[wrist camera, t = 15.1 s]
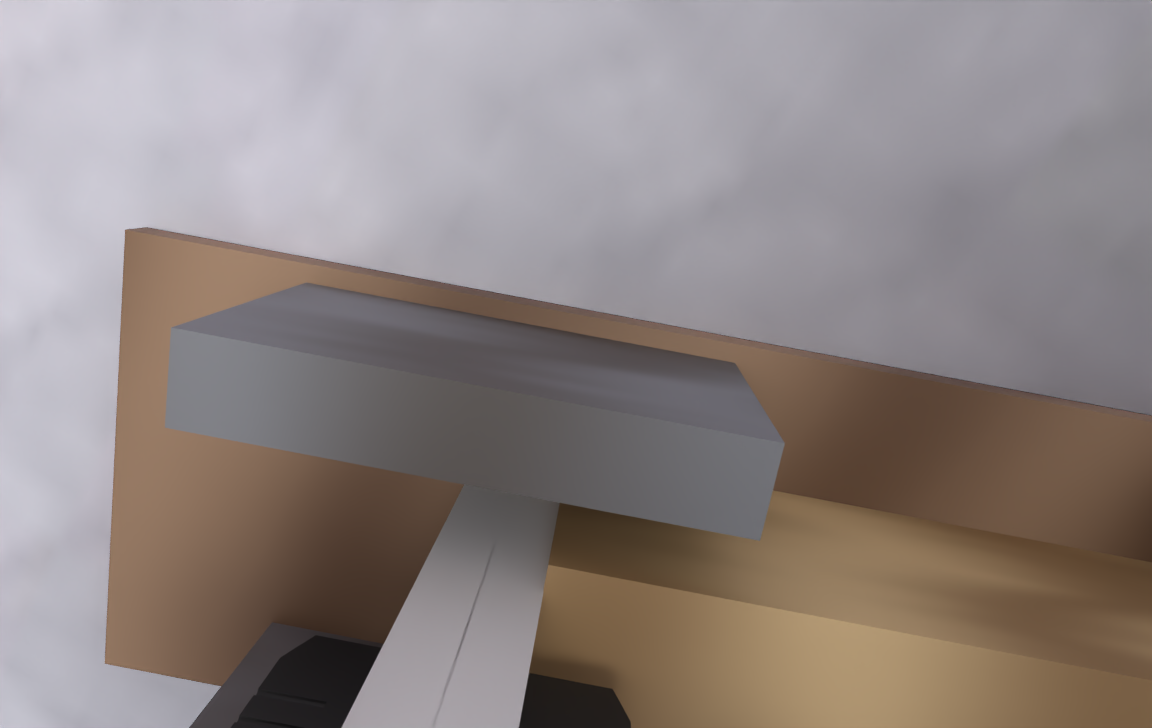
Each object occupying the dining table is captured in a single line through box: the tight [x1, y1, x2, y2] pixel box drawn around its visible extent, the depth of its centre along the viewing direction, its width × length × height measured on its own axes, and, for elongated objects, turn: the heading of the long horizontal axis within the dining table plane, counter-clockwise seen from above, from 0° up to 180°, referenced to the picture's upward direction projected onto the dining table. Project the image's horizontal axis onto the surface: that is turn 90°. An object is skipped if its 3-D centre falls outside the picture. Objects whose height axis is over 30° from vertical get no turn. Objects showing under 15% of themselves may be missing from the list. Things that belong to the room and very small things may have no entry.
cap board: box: [105, 228, 1152, 728], centre depth 11 cm, size 24×8×8 cm, turn 80°
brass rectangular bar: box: [529, 491, 1152, 728], centre depth 12 cm, size 14×4×4 cm, turn 80°
